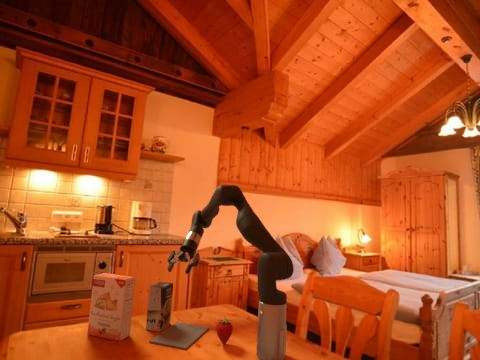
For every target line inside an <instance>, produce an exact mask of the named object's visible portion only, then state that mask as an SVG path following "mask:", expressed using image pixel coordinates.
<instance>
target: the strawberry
mask: <svg viewBox="0 0 480 360" xmlns="http://www.w3.org/2000/svg"><path fill="white" fill-rule="evenodd" d="M223 317H224V318H223V319H217V321H218V323H217V324H216V327H215V329H216V330H215V331H216V334H217V337H218V338H219V340H220V342H221V344H222V345H224V346H226V344H227V343H228V341H230V340H229V339H230V338H231V336H232V334H233V331H234V327H233V324H232V322H231V321H232V320H231V319H227V318H226V316H225V315H223Z"/></svg>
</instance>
